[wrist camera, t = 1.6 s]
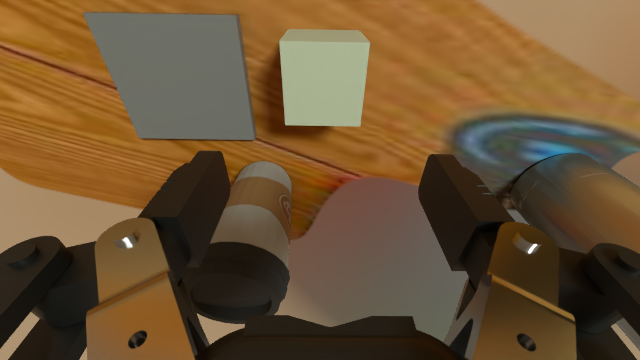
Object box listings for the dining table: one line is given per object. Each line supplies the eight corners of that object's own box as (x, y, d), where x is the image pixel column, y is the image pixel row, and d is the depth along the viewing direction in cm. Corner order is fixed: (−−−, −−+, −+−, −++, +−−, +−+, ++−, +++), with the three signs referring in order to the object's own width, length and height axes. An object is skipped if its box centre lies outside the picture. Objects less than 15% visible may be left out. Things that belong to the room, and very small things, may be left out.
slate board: (238, 14, 21) (235, 15, 20) (256, 135, 28) (254, 140, 27) (91, 11, 21) (82, 12, 20) (144, 133, 28) (139, 138, 27)
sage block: (359, 30, 22) (369, 42, 17) (352, 100, 26) (360, 126, 21) (288, 29, 22) (279, 41, 17) (292, 99, 25) (285, 125, 21)
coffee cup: (305, 203, 34) (296, 323, 22) (243, 209, 34) (201, 329, 22) (292, 147, 29) (271, 263, 17) (220, 156, 29) (150, 273, 17)
